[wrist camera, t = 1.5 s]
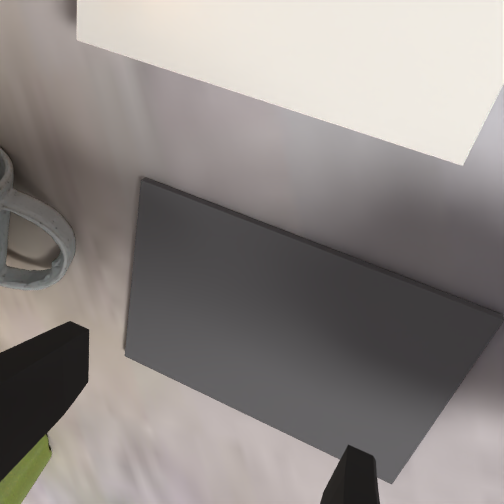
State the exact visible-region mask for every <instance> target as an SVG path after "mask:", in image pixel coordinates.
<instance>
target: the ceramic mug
mask: <svg viewBox="0 0 504 504" xmlns="http://www.w3.org/2000/svg"><path fill="white" fill-rule="evenodd" d="M13 180H14V176H13V165H12V162H11V160H10V158H9V156H8V155H7V154H6V153H5V152H4V151H3V150H2V149H1V147H0V286H3V287H7V288H12V289H19V290H40V289H44V288H46V287H49V286H51V285H53V284H55V283H57V282H58V281H59V280H60V279H61V278H62V277H63V276H64V275H65V273H66V271H67V269H68V267H69V265H70V263H71V261H72V259H73V257H74V254H75V243H76V239H75V236H74V233H73V230H72V228H71V227H70V225H69V224H68V222H67V221H66V220H65V219H64V217H63V216H62V215H60V214H59V213H58V212H57V211H56V210H55V209H54V208H52V207H51V206H49V205H48V204H46V203H44V202H42V201H40V200H38V199H36V198H34V197H32V196H30V195H27V194H25V193H22V192H19V191H17V190H15V189H13ZM10 212H13V213H15V214H17V215H19V216H21V217H23V218H25V219H27V220H29V221H31V222H32V223H34V224H36V225H37V226H39V227H41V228H42V229H43V230H45V231H46V232H47V233H48V234H49V235H50V236H51V237H52V238H53V239H54V241H55V242H56V243H57V244H58V245H59V248H60V249H61V251H60V254H59V256H58V258H57V259H55V260H54V261H53V262H52V268H51V269H47V270H32V271H30V270H25V269H19V268H14V267H10V266H7V265H6V257H7V247H8V227H9V220H10Z"/></svg>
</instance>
